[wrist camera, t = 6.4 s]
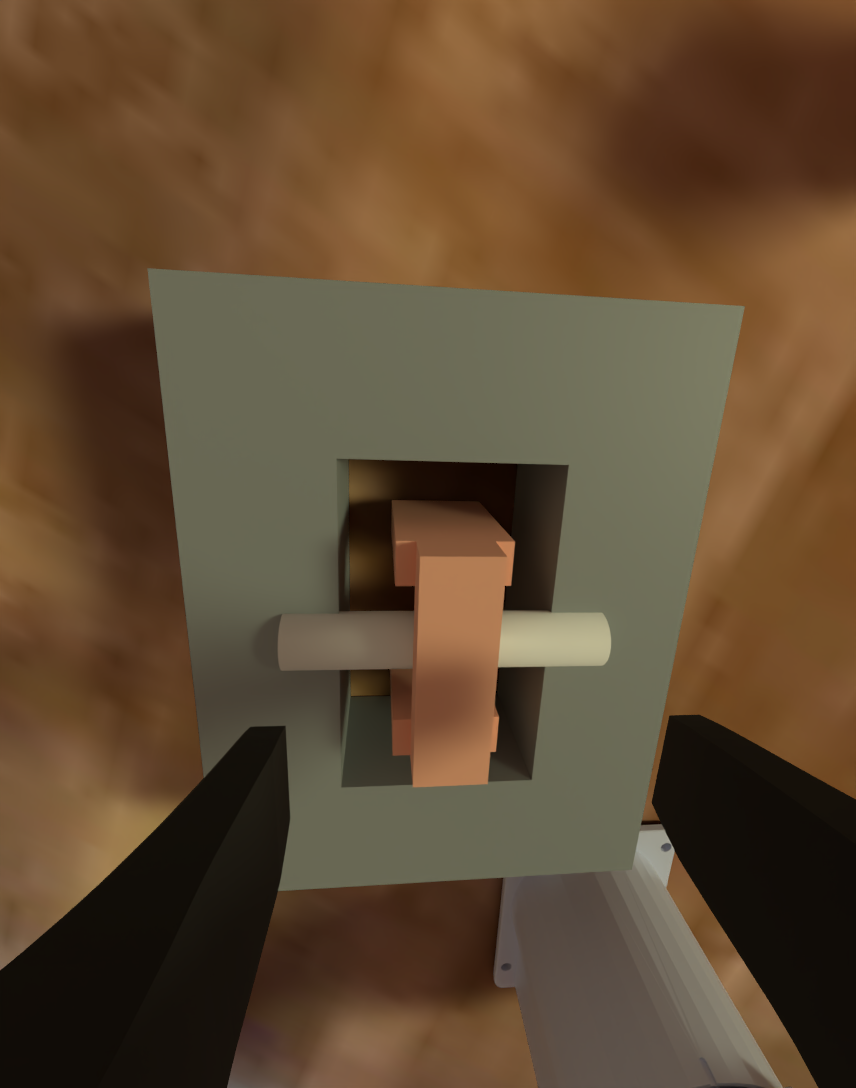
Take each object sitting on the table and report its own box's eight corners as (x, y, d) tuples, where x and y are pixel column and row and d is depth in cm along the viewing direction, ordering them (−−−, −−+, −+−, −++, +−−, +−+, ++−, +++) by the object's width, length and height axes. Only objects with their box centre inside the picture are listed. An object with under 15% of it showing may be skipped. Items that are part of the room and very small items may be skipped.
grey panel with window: (578, 770, 22) (643, 891, 16) (254, 782, 20) (208, 920, 15) (643, 332, 17) (769, 299, 11) (218, 308, 15) (129, 257, 10)
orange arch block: (467, 664, 19) (506, 783, 13) (389, 665, 18) (393, 788, 13) (478, 501, 17) (528, 557, 11) (391, 499, 17) (397, 556, 11)
